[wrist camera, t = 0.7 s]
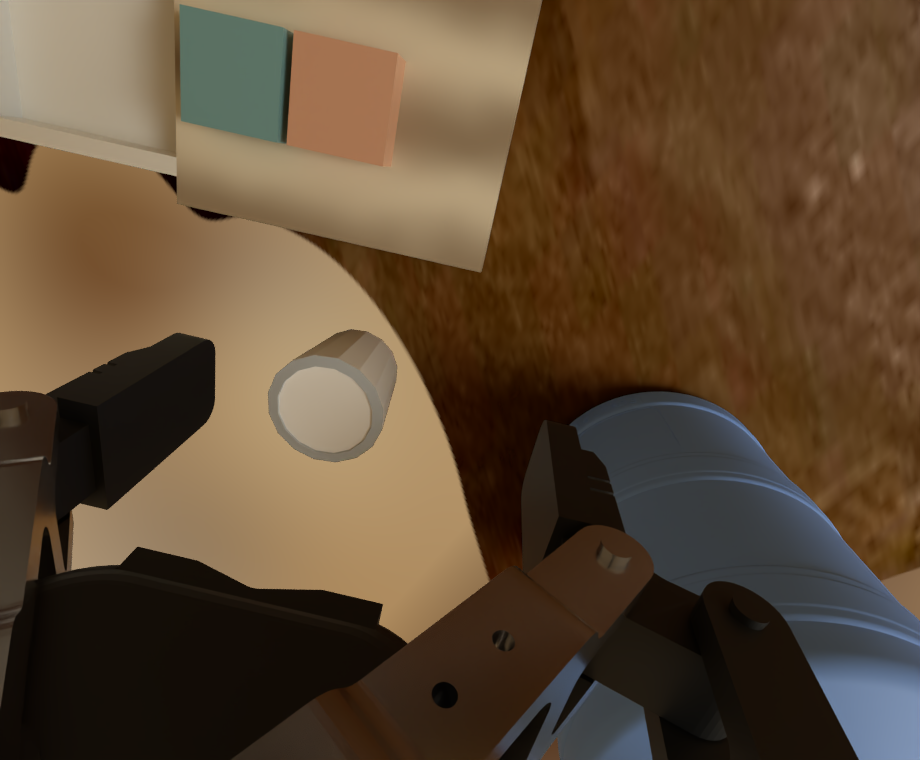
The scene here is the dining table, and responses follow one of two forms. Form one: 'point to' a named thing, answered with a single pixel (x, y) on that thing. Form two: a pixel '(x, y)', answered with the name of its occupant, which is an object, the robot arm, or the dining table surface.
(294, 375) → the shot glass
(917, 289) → the dining table surface
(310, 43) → the terracotta tile
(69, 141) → the box
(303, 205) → the birch board
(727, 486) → the water jug
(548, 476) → the robot arm
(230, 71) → the teal tile
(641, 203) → the dining table surface
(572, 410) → the dining table surface
